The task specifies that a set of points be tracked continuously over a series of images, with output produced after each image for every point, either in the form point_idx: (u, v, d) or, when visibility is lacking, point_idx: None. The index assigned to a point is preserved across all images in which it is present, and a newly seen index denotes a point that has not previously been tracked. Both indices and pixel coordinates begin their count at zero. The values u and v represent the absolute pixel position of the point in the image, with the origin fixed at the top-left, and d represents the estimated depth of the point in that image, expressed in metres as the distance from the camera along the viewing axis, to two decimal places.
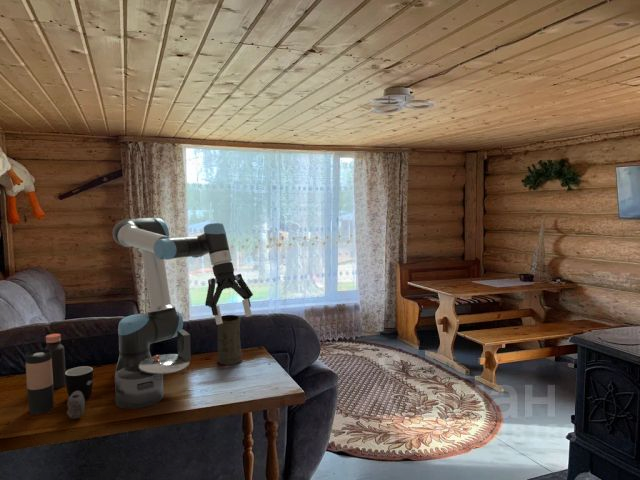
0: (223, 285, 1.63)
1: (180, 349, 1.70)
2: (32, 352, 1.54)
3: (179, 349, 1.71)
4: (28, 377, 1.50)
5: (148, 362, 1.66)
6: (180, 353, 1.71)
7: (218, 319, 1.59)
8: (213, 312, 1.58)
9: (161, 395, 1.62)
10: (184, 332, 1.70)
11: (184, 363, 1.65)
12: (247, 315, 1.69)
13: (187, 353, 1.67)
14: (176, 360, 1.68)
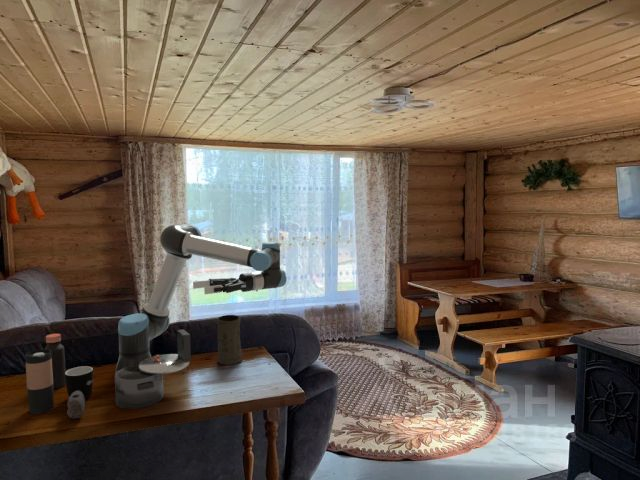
0: None
1: (180, 349, 1.70)
2: (32, 352, 1.54)
3: (179, 349, 1.71)
4: (28, 377, 1.50)
5: (148, 362, 1.66)
6: (180, 353, 1.71)
7: (209, 291, 1.67)
8: (217, 289, 1.68)
9: (161, 395, 1.62)
10: (184, 332, 1.70)
11: (184, 363, 1.65)
12: (194, 284, 1.77)
13: (187, 353, 1.67)
14: (176, 360, 1.68)
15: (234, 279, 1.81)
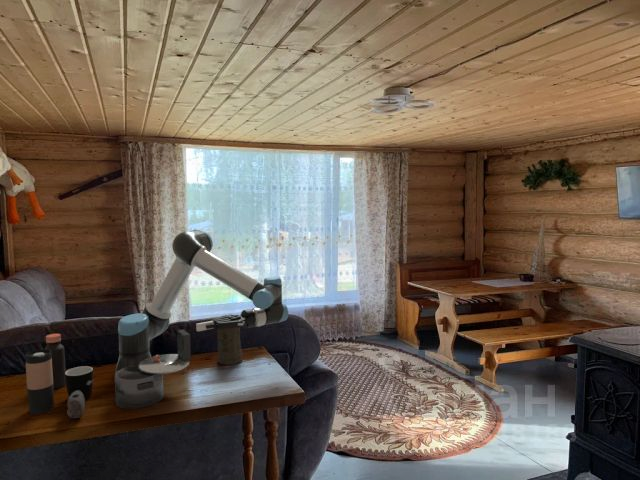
0: None
1: (180, 349, 1.70)
2: (32, 352, 1.54)
3: (179, 349, 1.71)
4: (28, 377, 1.50)
5: (148, 362, 1.66)
6: (180, 353, 1.71)
7: (201, 328, 1.73)
8: (209, 326, 1.73)
9: (161, 395, 1.62)
10: (184, 332, 1.70)
11: (184, 363, 1.65)
12: None
13: (187, 353, 1.67)
14: (176, 360, 1.68)
15: (237, 316, 1.82)
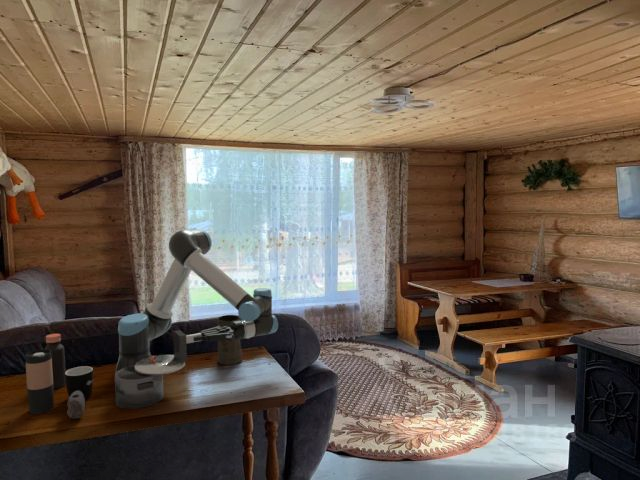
0: None
1: (176, 350, 1.69)
2: (32, 352, 1.54)
3: (175, 350, 1.70)
4: (28, 377, 1.50)
5: (144, 363, 1.66)
6: (176, 354, 1.70)
7: (189, 340, 1.70)
8: (197, 339, 1.71)
9: (161, 395, 1.62)
10: (180, 333, 1.69)
11: (180, 364, 1.64)
12: None
13: (183, 353, 1.66)
14: (172, 361, 1.67)
15: (226, 327, 1.80)
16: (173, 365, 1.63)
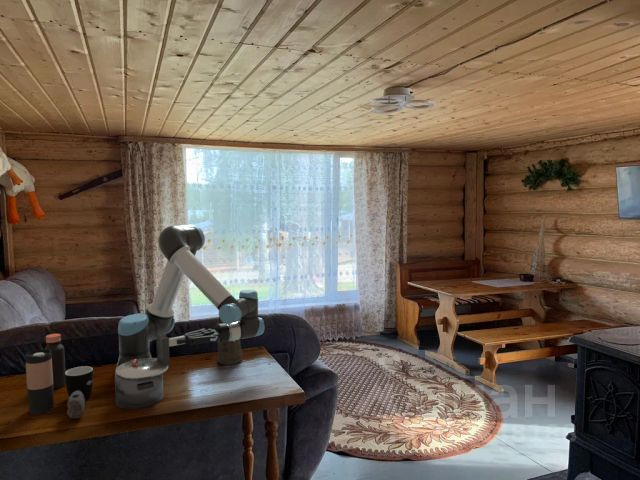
0: None
1: (159, 353, 1.66)
2: (32, 352, 1.54)
3: (158, 353, 1.67)
4: (28, 377, 1.50)
5: (125, 366, 1.62)
6: (159, 357, 1.66)
7: (172, 343, 1.66)
8: (180, 342, 1.67)
9: (161, 395, 1.62)
10: (163, 336, 1.65)
11: (162, 367, 1.61)
12: None
13: (165, 357, 1.63)
14: (154, 365, 1.64)
15: (211, 330, 1.76)
16: (155, 369, 1.60)
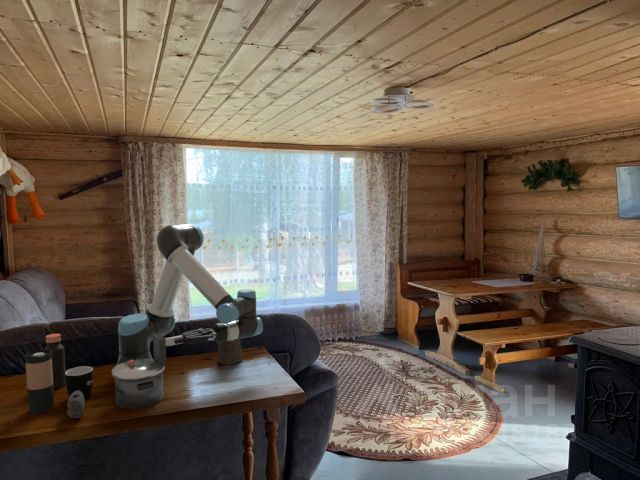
0: None
1: (155, 354, 1.65)
2: (32, 352, 1.54)
3: (155, 354, 1.66)
4: (28, 377, 1.50)
5: (122, 367, 1.61)
6: (155, 358, 1.65)
7: (169, 343, 1.66)
8: (178, 341, 1.67)
9: (161, 395, 1.62)
10: (160, 336, 1.65)
11: (159, 368, 1.60)
12: None
13: (162, 357, 1.62)
14: (151, 365, 1.63)
15: None
16: (152, 369, 1.59)
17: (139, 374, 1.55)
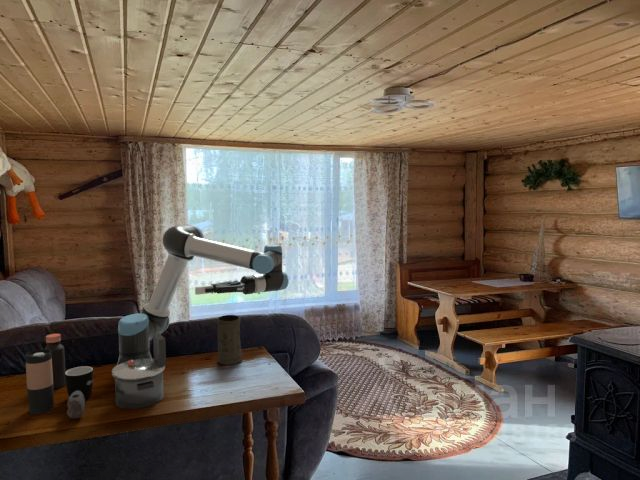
0: None
1: (155, 354, 1.65)
2: (32, 352, 1.54)
3: (155, 354, 1.66)
4: (28, 377, 1.50)
5: (122, 367, 1.61)
6: (155, 358, 1.65)
7: (200, 291, 1.72)
8: (208, 290, 1.72)
9: (161, 395, 1.62)
10: (160, 336, 1.65)
11: (159, 368, 1.60)
12: None
13: (162, 357, 1.62)
14: (151, 365, 1.63)
15: (237, 281, 1.81)
16: (152, 369, 1.59)
17: (139, 374, 1.55)
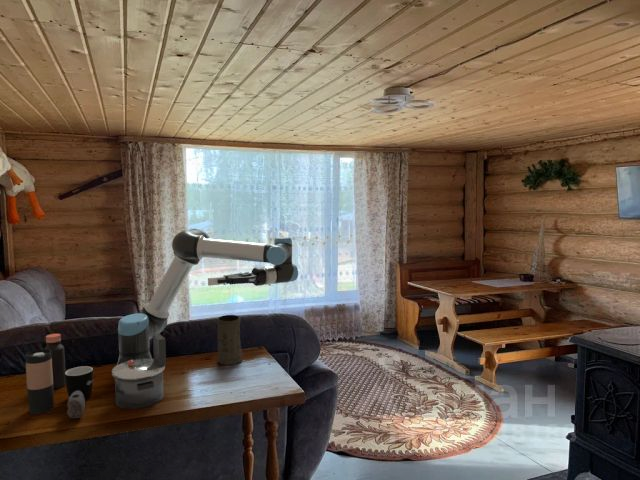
0: None
1: (155, 354, 1.65)
2: (32, 352, 1.54)
3: (155, 354, 1.66)
4: (28, 377, 1.50)
5: (122, 367, 1.61)
6: (155, 358, 1.65)
7: (213, 282, 1.74)
8: (221, 281, 1.75)
9: (161, 395, 1.62)
10: (160, 336, 1.65)
11: (159, 368, 1.60)
12: None
13: (162, 357, 1.62)
14: (151, 365, 1.63)
15: (248, 273, 1.84)
16: (152, 369, 1.59)
17: (139, 374, 1.55)
